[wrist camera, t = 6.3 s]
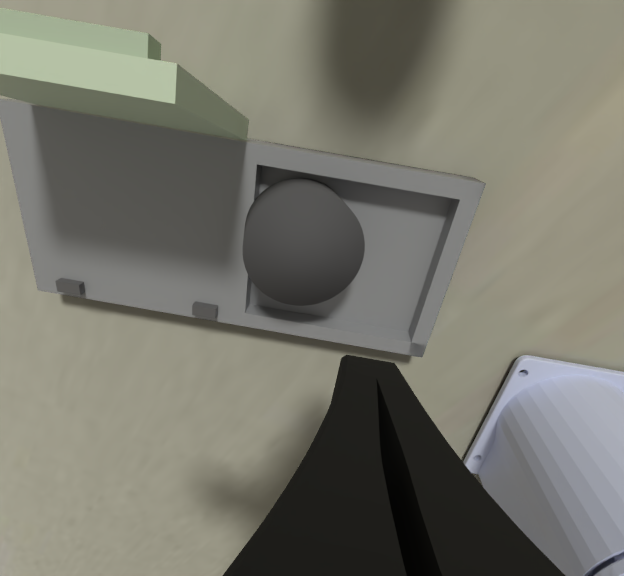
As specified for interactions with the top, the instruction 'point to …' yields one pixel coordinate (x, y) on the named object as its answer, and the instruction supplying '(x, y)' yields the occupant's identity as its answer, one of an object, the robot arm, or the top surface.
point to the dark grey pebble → (301, 242)
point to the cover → (106, 75)
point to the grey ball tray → (225, 225)
